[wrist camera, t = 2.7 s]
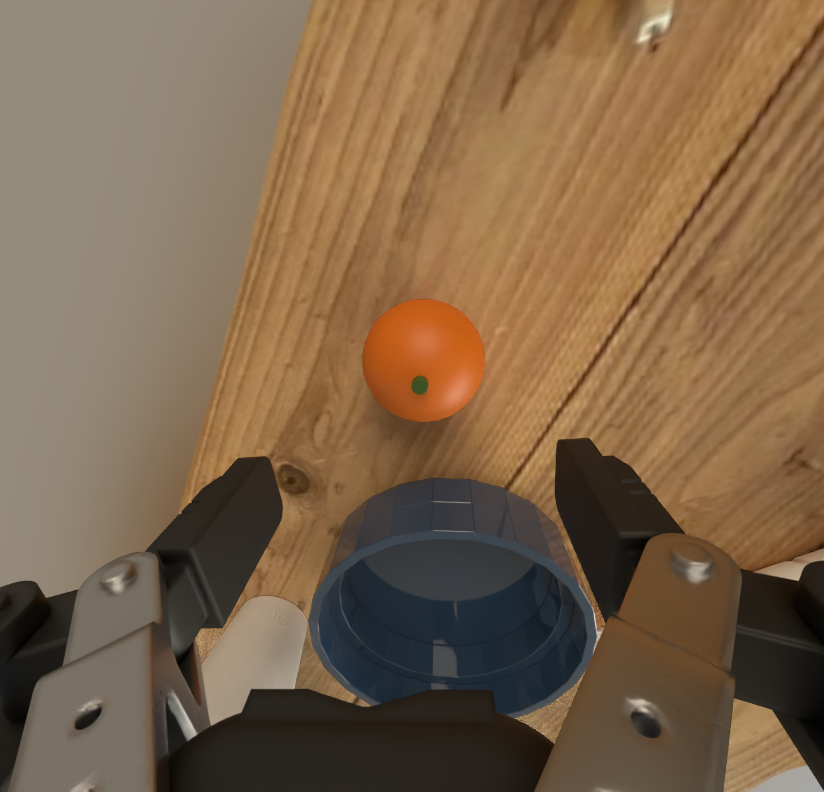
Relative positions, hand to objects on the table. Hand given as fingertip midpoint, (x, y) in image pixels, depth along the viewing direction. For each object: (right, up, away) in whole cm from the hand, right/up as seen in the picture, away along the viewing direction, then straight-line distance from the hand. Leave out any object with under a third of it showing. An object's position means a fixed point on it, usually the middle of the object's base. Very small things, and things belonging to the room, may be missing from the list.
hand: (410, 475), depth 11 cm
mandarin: (+1, +4, +8) cm, 9 cm away
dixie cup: (-11, -16, +22) cm, 29 cm away
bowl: (+3, -11, +18) cm, 21 cm away
